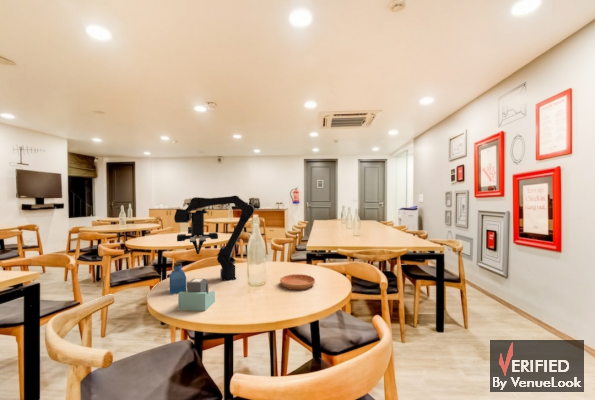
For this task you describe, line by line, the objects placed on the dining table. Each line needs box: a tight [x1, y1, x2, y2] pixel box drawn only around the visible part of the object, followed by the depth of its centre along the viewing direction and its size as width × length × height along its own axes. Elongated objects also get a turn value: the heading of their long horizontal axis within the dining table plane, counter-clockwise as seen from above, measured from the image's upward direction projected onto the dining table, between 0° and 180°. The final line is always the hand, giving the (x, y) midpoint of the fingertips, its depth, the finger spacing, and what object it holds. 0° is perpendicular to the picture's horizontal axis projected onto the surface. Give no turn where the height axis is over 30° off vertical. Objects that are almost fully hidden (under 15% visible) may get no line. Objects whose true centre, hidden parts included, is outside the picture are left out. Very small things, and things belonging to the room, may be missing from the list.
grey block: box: [186, 278, 209, 294], centre depth 95 cm, size 6×6×9 cm
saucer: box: [279, 273, 316, 291], centre depth 119 cm, size 16×16×3 cm
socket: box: [177, 290, 216, 312], centre depth 95 cm, size 9×10×6 cm
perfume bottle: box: [169, 261, 187, 295], centre depth 111 cm, size 6×6×12 cm
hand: (197, 254), depth 128 cm, fingers closed
